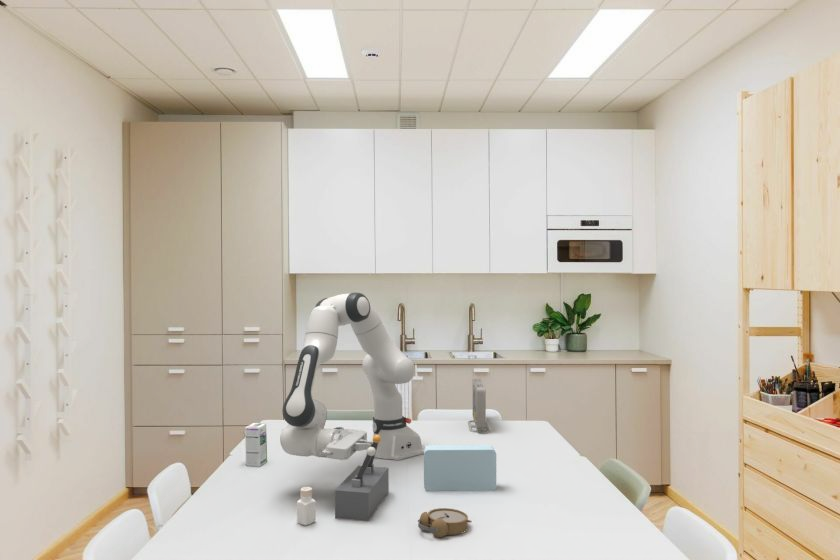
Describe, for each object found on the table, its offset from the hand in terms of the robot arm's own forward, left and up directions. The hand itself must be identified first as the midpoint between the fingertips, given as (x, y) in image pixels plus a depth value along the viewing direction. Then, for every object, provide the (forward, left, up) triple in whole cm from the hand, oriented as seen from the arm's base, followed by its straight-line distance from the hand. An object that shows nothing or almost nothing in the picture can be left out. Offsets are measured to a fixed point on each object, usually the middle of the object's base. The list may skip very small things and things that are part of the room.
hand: (372, 445), depth 182 cm
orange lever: (+1, -1, -7) cm, 8 cm away
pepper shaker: (+23, +7, -17) cm, 30 cm away
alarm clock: (-8, +29, -17) cm, 35 cm away
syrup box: (+24, -51, -17) cm, 59 cm away
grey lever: (+8, +8, -7) cm, 13 cm away
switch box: (+4, +3, -16) cm, 17 cm away
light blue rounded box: (-29, +6, -17) cm, 34 cm away
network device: (-77, -55, -17) cm, 96 cm away
